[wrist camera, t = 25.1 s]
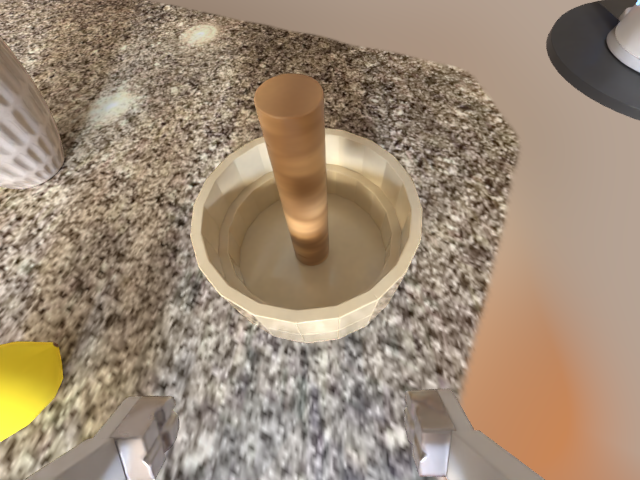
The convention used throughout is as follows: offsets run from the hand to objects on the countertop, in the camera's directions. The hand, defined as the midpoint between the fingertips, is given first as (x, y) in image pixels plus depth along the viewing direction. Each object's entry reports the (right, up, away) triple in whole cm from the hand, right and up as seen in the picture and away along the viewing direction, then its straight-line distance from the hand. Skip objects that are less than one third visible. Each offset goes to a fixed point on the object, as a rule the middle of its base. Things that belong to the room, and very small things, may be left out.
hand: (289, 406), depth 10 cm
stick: (0, +5, +14) cm, 15 cm away
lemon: (-19, -5, +10) cm, 22 cm away
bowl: (0, +5, +14) cm, 15 cm away
